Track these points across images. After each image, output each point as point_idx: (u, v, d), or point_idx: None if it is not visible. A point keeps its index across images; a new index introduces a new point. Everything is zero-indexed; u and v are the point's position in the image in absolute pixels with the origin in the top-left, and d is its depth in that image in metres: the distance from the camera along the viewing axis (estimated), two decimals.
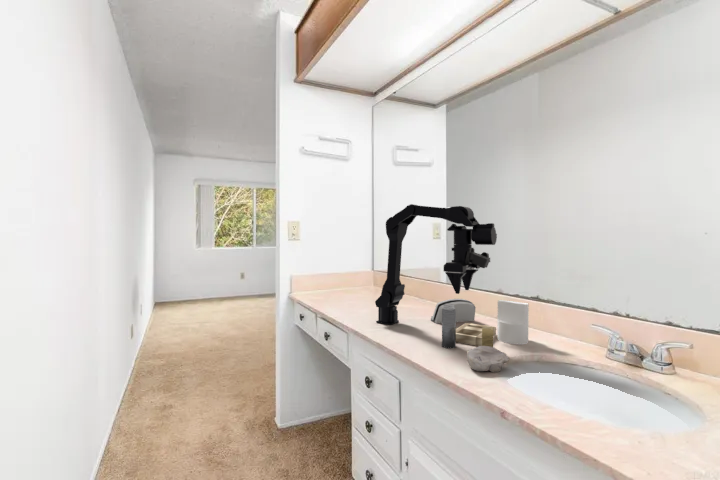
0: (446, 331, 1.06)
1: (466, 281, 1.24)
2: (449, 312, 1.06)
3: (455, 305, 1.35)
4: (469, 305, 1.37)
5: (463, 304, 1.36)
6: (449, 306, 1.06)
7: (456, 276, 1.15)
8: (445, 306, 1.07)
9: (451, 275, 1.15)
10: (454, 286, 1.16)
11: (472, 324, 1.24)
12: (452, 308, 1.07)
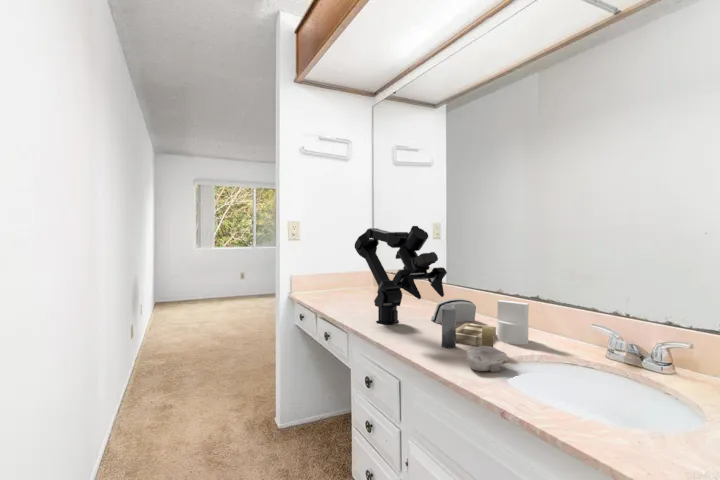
0: (446, 331, 1.06)
1: (438, 289, 1.19)
2: (449, 312, 1.06)
3: (456, 305, 1.35)
4: (470, 305, 1.37)
5: (464, 304, 1.36)
6: (449, 306, 1.06)
7: (409, 284, 1.15)
8: (445, 306, 1.07)
9: (405, 286, 1.16)
10: (413, 293, 1.14)
11: (472, 324, 1.24)
12: (452, 308, 1.07)
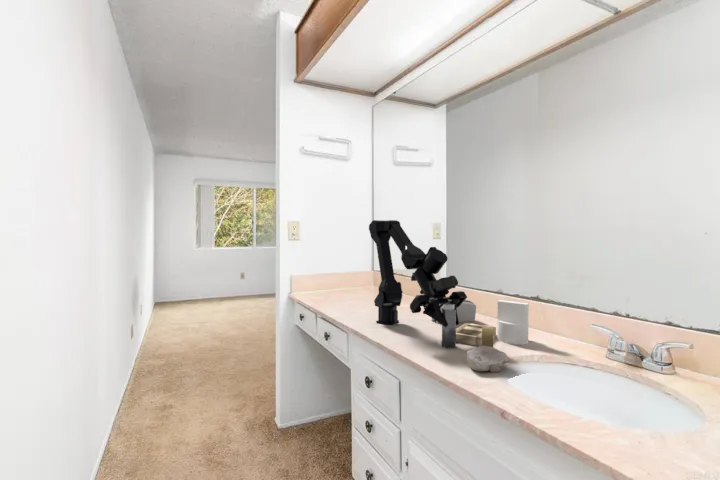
0: (446, 331, 1.06)
1: None
2: (449, 312, 1.06)
3: None
4: (470, 305, 1.37)
5: (464, 304, 1.36)
6: (449, 306, 1.06)
7: (434, 310, 1.08)
8: (445, 306, 1.07)
9: (430, 312, 1.09)
10: (438, 320, 1.07)
11: (472, 324, 1.24)
12: (452, 308, 1.07)
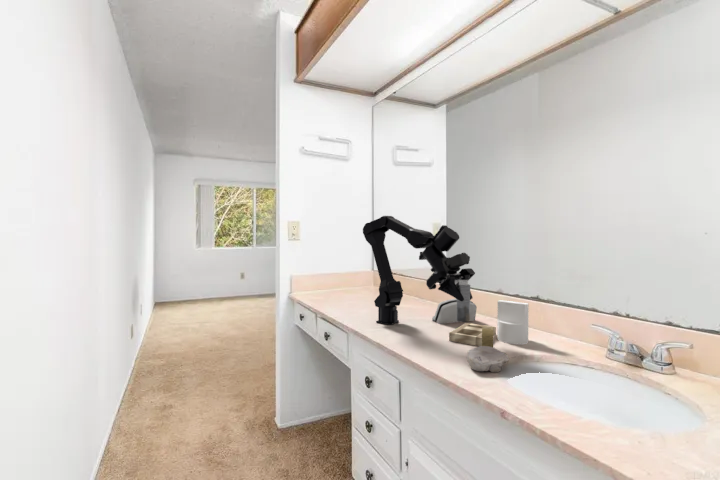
0: (462, 306, 1.10)
1: None
2: (465, 287, 1.09)
3: None
4: (470, 305, 1.37)
5: None
6: (465, 281, 1.10)
7: (449, 286, 1.11)
8: (460, 281, 1.10)
9: (445, 288, 1.12)
10: (454, 295, 1.10)
11: (472, 324, 1.24)
12: (467, 283, 1.11)
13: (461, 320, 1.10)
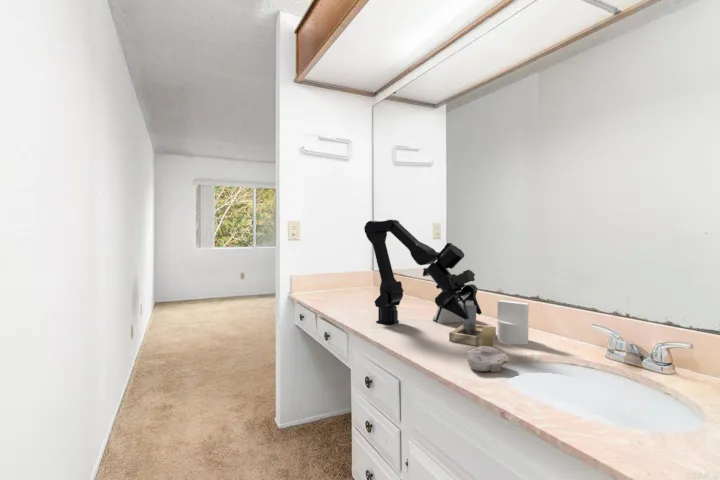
0: (469, 326, 1.12)
1: None
2: (472, 308, 1.12)
3: None
4: None
5: None
6: (471, 302, 1.13)
7: (453, 304, 1.12)
8: (467, 302, 1.13)
9: (448, 306, 1.12)
10: (458, 313, 1.11)
11: None
12: (473, 304, 1.14)
13: None
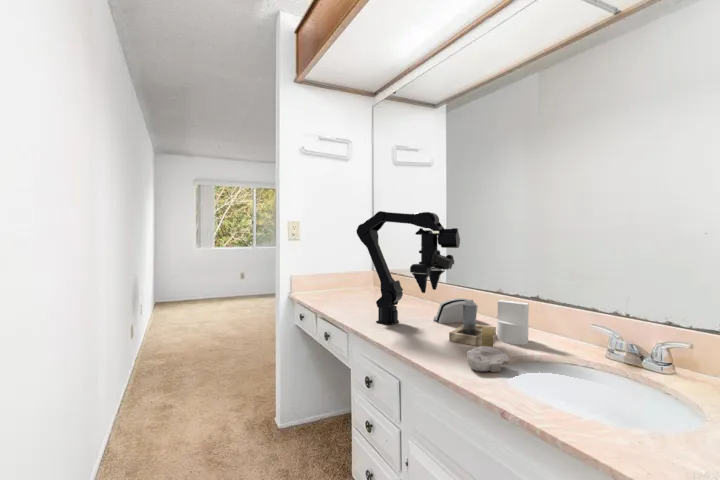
0: (469, 326, 1.12)
1: (433, 282, 1.33)
2: (472, 308, 1.12)
3: (459, 305, 1.36)
4: None
5: None
6: (471, 302, 1.13)
7: (422, 277, 1.25)
8: (467, 302, 1.13)
9: (417, 276, 1.25)
10: (420, 285, 1.25)
11: None
12: None
13: None
